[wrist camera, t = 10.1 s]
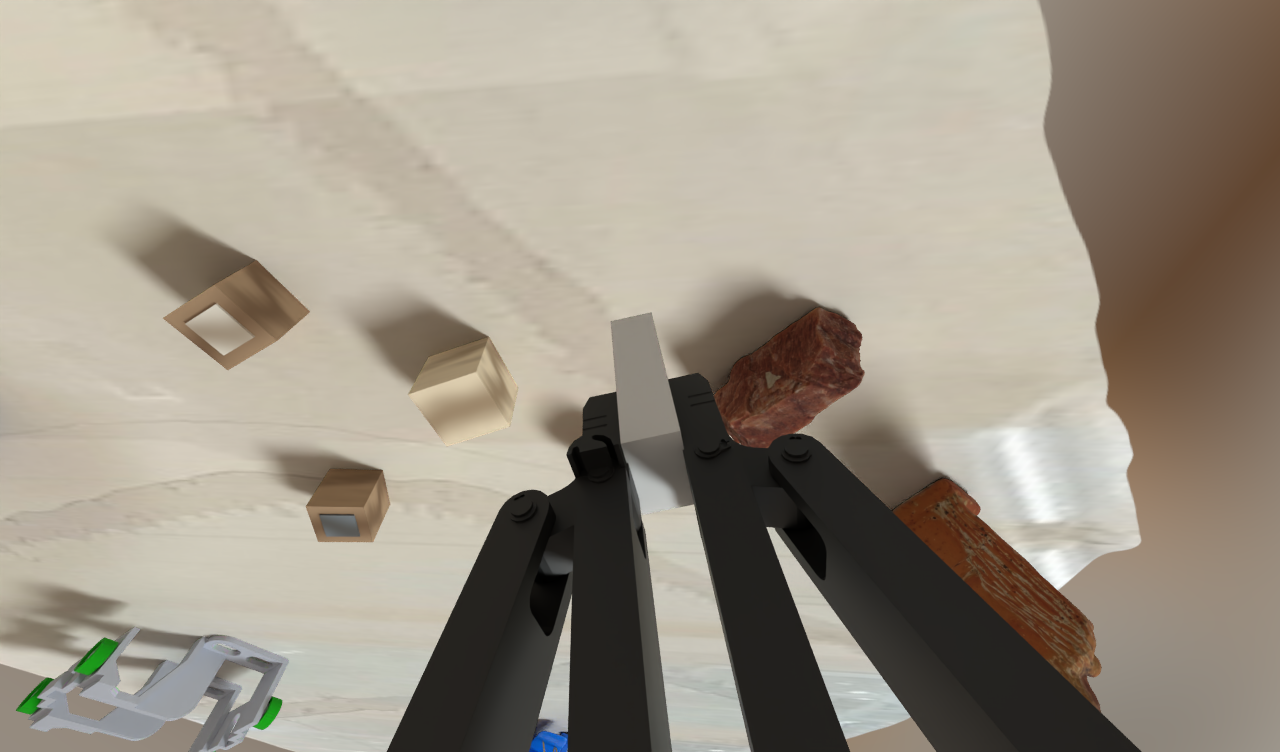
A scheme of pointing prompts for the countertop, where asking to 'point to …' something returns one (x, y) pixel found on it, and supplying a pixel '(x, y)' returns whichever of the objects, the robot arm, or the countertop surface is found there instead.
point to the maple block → (465, 392)
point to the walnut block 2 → (349, 505)
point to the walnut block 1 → (238, 315)
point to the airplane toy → (549, 742)
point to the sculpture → (1004, 580)
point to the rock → (791, 379)
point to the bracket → (163, 693)
